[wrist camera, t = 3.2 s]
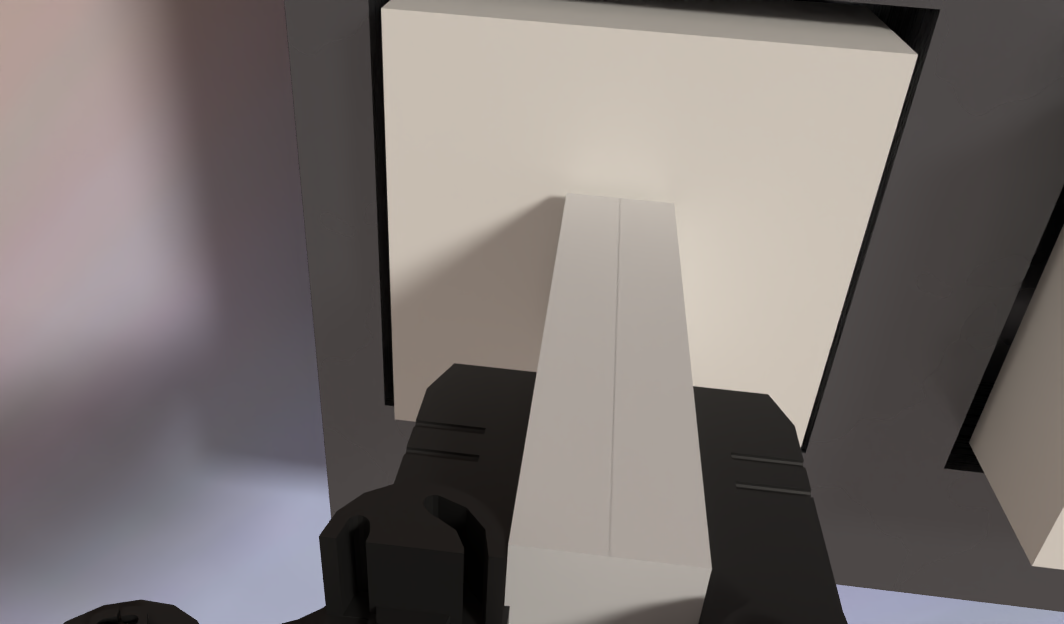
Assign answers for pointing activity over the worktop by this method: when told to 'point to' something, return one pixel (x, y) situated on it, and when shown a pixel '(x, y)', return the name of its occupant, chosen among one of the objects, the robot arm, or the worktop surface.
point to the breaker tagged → (634, 171)
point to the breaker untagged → (1031, 423)
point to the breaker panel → (867, 315)
